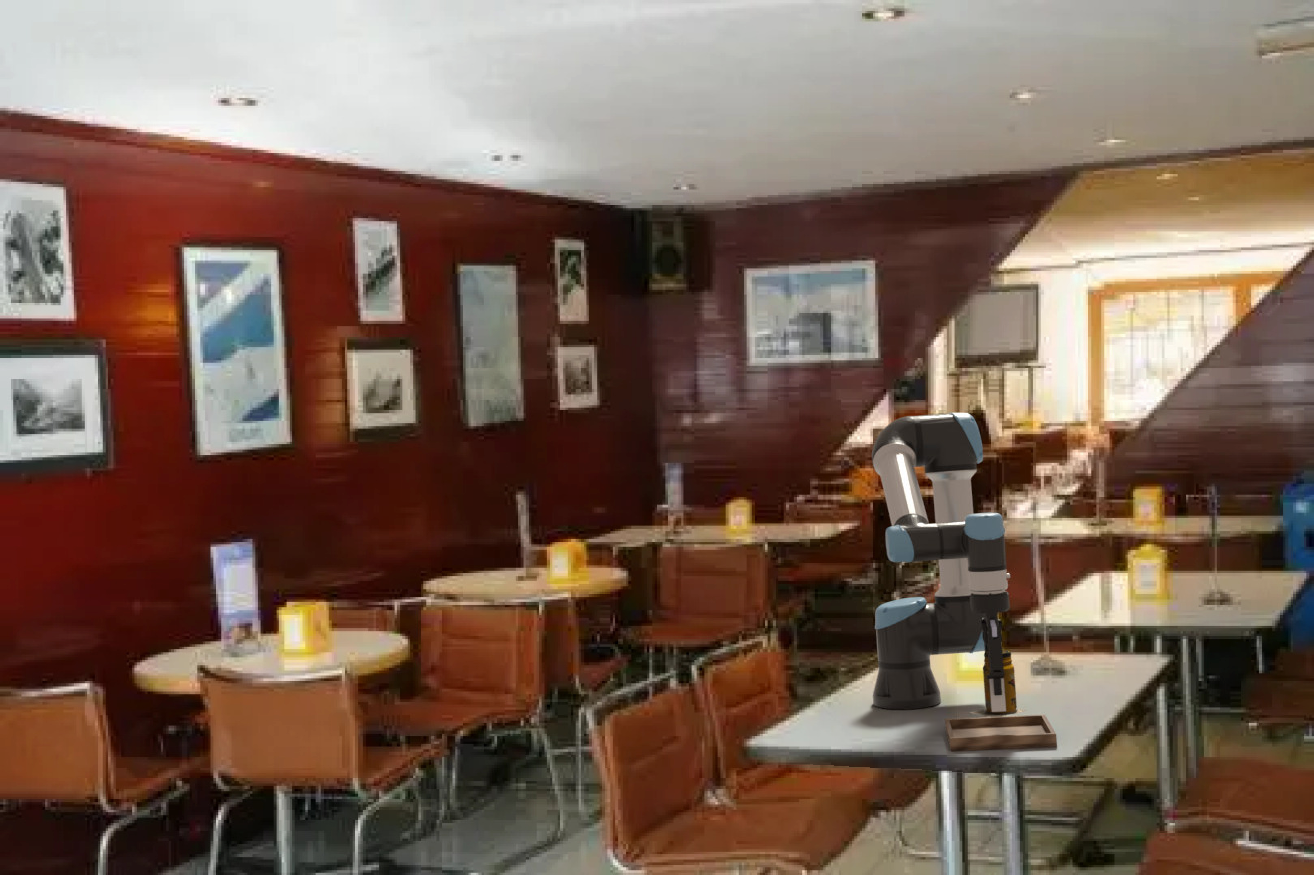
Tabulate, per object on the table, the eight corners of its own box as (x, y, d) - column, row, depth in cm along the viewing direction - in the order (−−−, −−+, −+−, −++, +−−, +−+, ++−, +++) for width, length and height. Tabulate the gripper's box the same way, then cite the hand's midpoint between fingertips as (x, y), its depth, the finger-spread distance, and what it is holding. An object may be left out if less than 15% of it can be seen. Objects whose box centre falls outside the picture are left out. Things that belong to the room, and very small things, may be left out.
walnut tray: (950, 751, 287) (949, 738, 287) (945, 731, 305) (944, 719, 305) (1057, 746, 285) (1056, 733, 284) (1045, 726, 302) (1044, 714, 302)
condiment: (1026, 711, 294) (1022, 650, 294) (997, 718, 289) (992, 656, 289) (998, 707, 300) (994, 647, 300) (969, 714, 295) (964, 653, 295)
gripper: (1013, 596, 285) (1021, 716, 285) (1003, 584, 303) (1012, 697, 304) (973, 598, 286) (981, 718, 286) (966, 587, 305) (974, 699, 305)
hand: (997, 707), depth 295 cm, fingers closed on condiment, 6 cm apart
